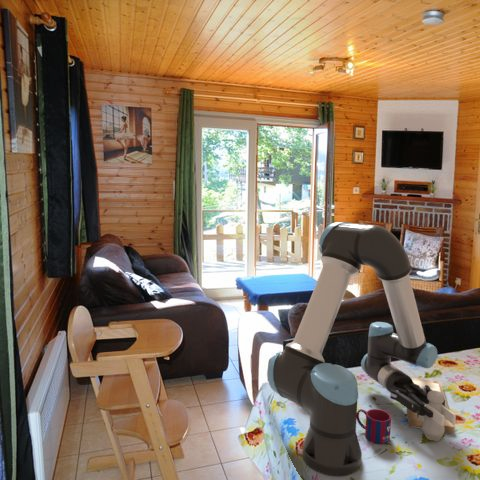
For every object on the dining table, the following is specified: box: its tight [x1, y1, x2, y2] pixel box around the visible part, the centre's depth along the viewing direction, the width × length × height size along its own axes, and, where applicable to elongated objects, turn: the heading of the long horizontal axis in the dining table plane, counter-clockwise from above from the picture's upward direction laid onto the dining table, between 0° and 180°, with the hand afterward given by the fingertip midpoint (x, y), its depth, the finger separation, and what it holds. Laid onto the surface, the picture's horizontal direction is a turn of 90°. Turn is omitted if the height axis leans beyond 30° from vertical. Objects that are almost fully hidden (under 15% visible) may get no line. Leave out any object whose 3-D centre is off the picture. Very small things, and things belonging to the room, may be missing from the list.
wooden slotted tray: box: [406, 377, 455, 434], centre depth 143 cm, size 12×30×2 cm, turn 162°
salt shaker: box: [421, 391, 445, 442], centre depth 124 cm, size 6×6×13 cm
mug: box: [356, 408, 392, 445], centre depth 126 cm, size 7×10×7 cm
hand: (448, 420), depth 118 cm, fingers closed on salt shaker, 3 cm apart
